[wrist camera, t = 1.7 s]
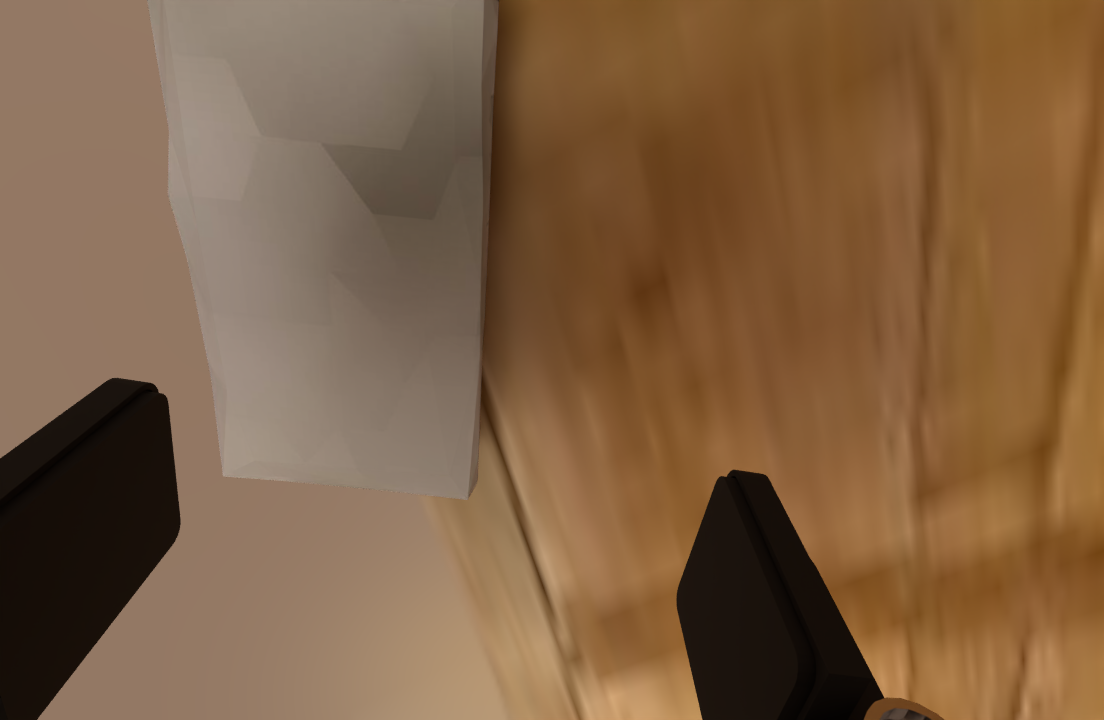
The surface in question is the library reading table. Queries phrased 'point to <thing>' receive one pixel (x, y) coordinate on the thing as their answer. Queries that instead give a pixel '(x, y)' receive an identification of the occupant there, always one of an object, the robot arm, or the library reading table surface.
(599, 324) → the library reading table surface
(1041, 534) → the library reading table surface
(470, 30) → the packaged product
